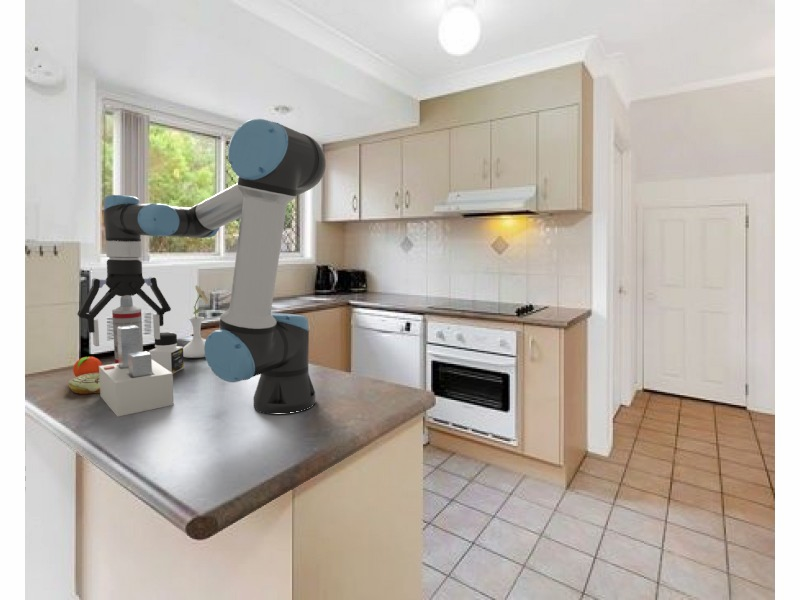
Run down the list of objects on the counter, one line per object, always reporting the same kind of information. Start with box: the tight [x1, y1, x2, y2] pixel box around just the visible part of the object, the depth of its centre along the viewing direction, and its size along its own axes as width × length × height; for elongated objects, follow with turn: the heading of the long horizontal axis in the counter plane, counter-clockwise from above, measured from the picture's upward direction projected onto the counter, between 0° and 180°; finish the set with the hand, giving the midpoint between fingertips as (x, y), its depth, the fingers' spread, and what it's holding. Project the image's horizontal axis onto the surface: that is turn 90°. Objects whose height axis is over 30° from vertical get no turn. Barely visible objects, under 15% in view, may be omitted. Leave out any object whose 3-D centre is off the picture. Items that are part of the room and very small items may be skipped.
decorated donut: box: [68, 373, 100, 395], centre depth 120 cm, size 10×11×4 cm
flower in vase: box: [182, 284, 211, 359], centre depth 156 cm, size 13×11×25 cm
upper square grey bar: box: [117, 325, 140, 369], centre depth 115 cm, size 4×4×18 cm
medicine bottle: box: [148, 331, 185, 375], centre depth 138 cm, size 7×7×12 cm
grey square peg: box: [128, 350, 152, 378], centre depth 108 cm, size 4×4×13 cm
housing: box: [99, 359, 175, 418], centre depth 112 cm, size 12×18×8 cm, turn 44°
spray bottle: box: [111, 295, 144, 364], centre depth 142 cm, size 8×8×25 cm
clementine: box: [72, 355, 103, 377], centre depth 126 cm, size 8×7×7 cm
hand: (127, 341), depth 114 cm, fingers open, 13 cm apart
